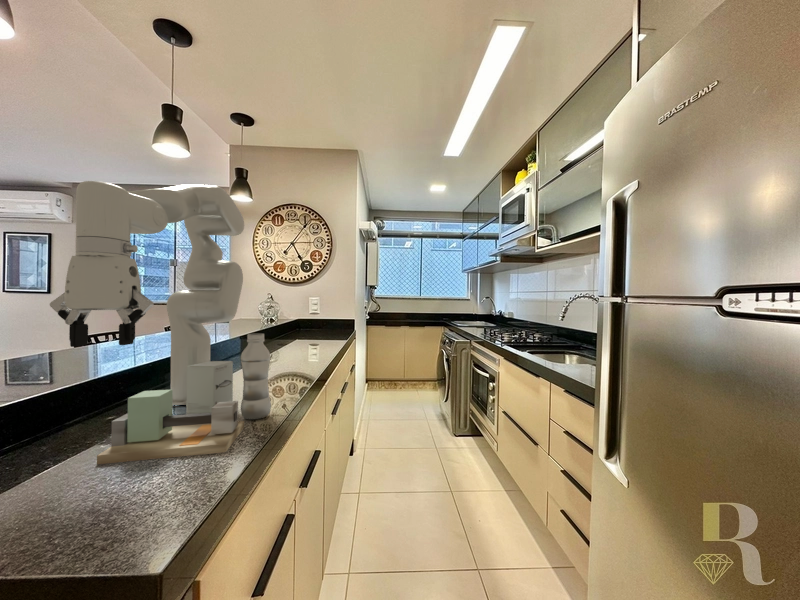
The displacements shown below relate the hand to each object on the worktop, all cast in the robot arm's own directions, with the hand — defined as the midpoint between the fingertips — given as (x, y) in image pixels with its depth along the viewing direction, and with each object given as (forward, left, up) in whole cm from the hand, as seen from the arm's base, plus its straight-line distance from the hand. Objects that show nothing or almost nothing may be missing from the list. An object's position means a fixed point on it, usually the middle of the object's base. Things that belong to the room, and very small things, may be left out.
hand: (103, 344), depth 59 cm
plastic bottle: (-12, +24, -20) cm, 33 cm away
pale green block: (0, +8, -18) cm, 19 cm away
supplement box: (-18, +12, -20) cm, 29 cm away
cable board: (0, +13, -20) cm, 24 cm away
